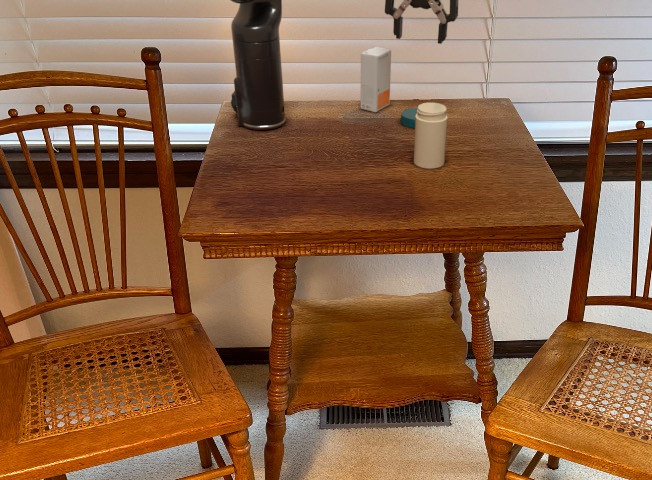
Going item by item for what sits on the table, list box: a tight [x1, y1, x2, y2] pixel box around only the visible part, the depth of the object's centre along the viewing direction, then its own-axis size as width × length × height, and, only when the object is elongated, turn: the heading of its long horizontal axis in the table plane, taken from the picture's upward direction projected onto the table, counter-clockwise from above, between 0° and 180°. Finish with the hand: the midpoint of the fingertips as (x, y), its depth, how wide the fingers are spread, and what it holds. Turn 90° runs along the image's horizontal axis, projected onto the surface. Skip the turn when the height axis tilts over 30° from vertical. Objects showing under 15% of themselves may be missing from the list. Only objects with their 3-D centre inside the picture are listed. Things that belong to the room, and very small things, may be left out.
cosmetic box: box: [360, 46, 392, 113], centre depth 163 cm, size 6×4×12 cm
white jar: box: [413, 102, 449, 170], centre depth 142 cm, size 6×6×11 cm
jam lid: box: [400, 107, 418, 129], centre depth 160 cm, size 7×7×2 cm
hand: (419, 40), depth 150 cm, fingers open, 8 cm apart
